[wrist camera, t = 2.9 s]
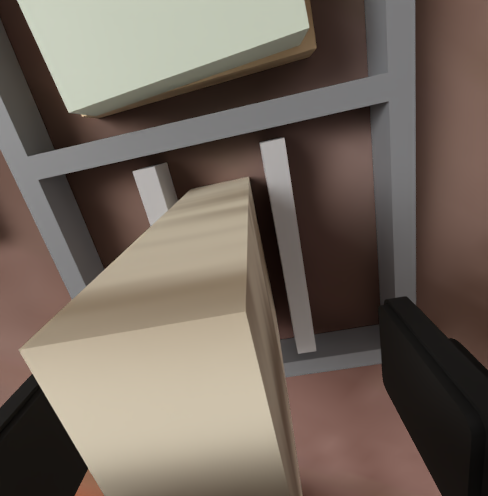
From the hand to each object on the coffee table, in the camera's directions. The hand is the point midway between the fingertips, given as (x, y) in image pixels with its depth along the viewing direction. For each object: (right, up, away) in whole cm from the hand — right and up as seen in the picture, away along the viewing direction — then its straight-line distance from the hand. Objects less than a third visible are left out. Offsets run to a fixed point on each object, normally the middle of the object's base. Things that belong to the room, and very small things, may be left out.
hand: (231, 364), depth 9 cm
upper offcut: (-2, +12, +2) cm, 13 cm away
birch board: (0, +3, +7) cm, 8 cm away
